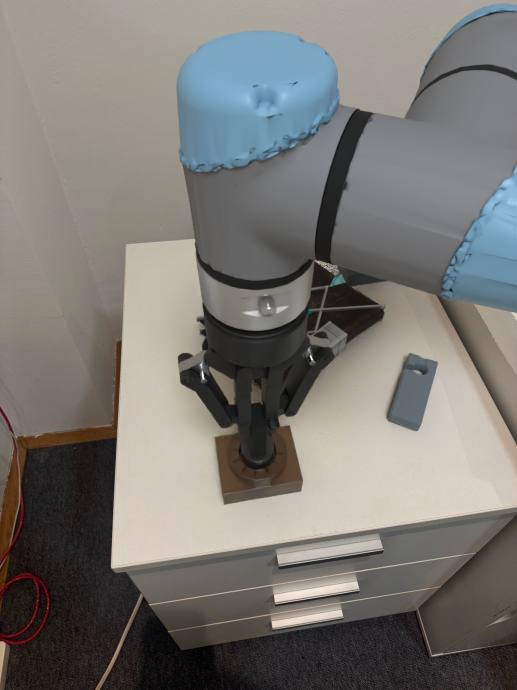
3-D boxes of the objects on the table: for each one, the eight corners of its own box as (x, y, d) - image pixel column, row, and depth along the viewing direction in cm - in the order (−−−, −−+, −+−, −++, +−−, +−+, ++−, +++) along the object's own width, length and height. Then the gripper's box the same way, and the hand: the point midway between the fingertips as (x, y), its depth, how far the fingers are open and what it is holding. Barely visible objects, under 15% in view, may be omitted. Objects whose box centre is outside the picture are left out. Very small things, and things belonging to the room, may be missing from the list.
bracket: (386, 421, 62) (389, 413, 60) (406, 359, 67) (409, 351, 66) (417, 432, 61) (421, 425, 59) (434, 369, 66) (439, 361, 65)
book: (277, 409, 63) (278, 389, 59) (196, 334, 70) (192, 311, 66) (383, 321, 71) (390, 298, 67) (300, 263, 79) (303, 239, 75)
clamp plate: (386, 238, 83) (389, 226, 80) (411, 285, 76) (415, 272, 74) (322, 247, 81) (324, 234, 79) (342, 295, 75) (344, 283, 73)
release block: (288, 437, 60) (290, 417, 56) (301, 491, 56) (304, 474, 52) (216, 448, 59) (213, 429, 55) (224, 504, 55) (221, 488, 51)
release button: (270, 435, 55) (270, 428, 54) (276, 465, 53) (277, 458, 52) (239, 441, 55) (238, 433, 54) (244, 470, 53) (243, 464, 51)
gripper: (165, 352, 31) (200, 488, 49) (363, 321, 32) (324, 465, 51) (157, 269, 35) (192, 424, 54) (331, 246, 37) (306, 404, 55)
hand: (256, 444), depth 52 cm, fingers closed
